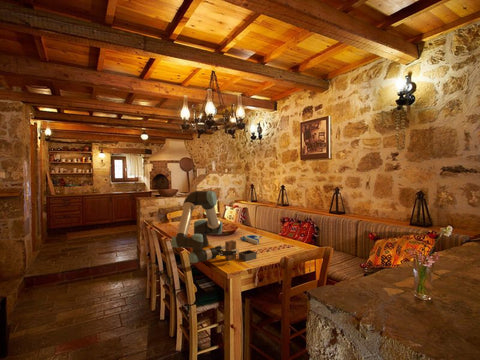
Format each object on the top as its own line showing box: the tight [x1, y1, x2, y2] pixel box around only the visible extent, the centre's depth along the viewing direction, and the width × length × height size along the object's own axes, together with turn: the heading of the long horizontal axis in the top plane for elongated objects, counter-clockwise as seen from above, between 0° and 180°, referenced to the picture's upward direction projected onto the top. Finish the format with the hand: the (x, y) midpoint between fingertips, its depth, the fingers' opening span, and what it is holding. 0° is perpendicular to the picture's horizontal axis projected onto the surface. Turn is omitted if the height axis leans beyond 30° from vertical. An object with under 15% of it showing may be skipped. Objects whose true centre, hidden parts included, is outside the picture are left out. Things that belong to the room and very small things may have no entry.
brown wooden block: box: [224, 239, 237, 262], centre depth 203 cm, size 7×4×14 cm, turn 128°
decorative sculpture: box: [238, 234, 262, 246], centre depth 259 cm, size 27×4×30 cm
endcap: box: [238, 249, 258, 262], centre depth 204 cm, size 11×8×5 cm
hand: (233, 248), depth 204 cm, fingers open, 13 cm apart
